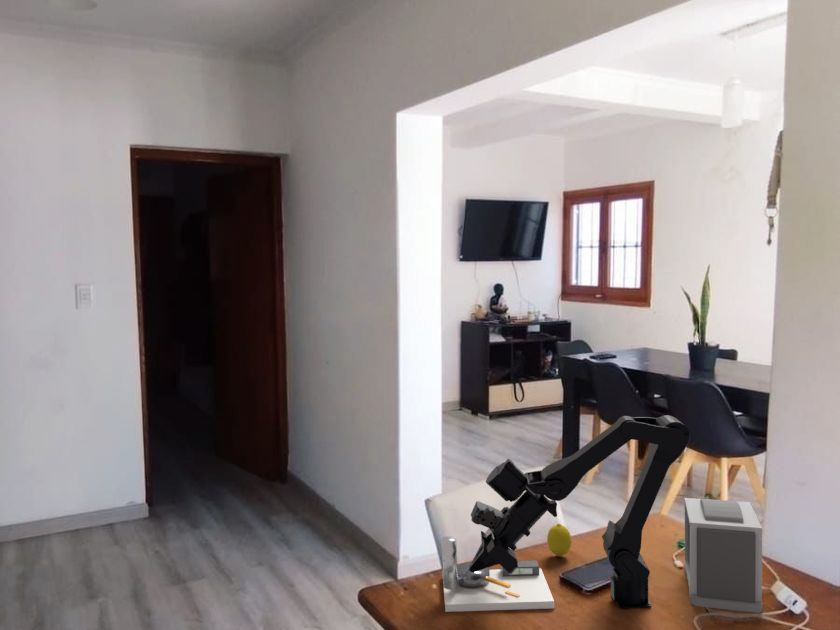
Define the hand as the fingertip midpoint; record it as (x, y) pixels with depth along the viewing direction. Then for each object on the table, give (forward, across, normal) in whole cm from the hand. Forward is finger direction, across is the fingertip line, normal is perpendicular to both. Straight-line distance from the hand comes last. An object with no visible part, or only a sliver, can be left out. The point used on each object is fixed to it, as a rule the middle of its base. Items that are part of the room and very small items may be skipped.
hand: (470, 570), depth 140 cm
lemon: (-11, -20, +21) cm, 31 cm away
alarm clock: (-32, -3, +43) cm, 53 cm away
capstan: (+3, -3, +4) cm, 6 cm away
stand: (+1, -4, +9) cm, 10 cm away
